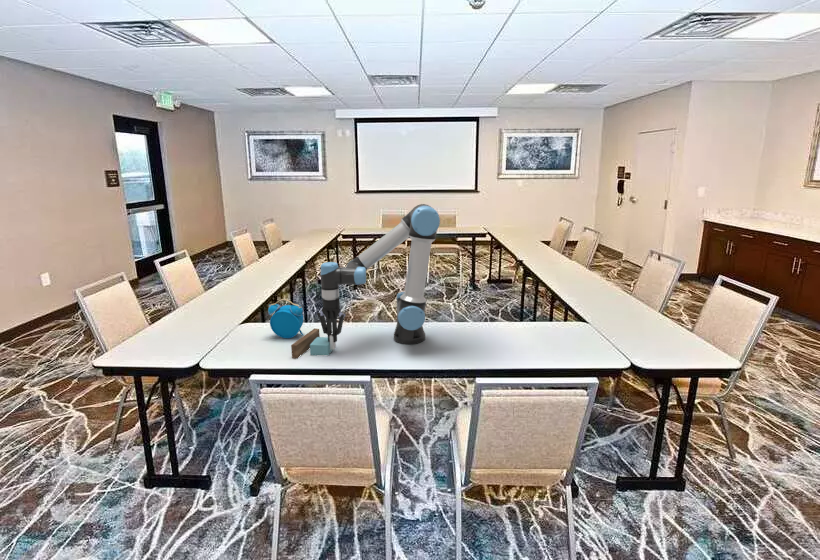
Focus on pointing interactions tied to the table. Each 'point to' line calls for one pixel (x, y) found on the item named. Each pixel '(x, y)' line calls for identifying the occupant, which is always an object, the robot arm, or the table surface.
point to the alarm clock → (286, 319)
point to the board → (304, 343)
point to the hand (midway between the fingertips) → (333, 348)
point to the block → (320, 346)
